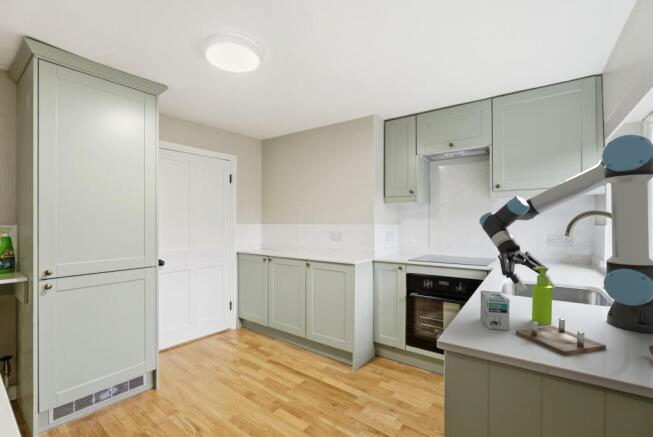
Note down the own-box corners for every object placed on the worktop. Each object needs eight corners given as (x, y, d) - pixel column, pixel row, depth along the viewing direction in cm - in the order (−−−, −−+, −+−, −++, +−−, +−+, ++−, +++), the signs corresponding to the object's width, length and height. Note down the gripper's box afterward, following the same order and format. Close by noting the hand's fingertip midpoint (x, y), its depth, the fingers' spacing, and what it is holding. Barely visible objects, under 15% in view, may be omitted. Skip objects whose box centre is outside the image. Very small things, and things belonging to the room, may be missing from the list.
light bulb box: (509, 331, 105) (510, 299, 105) (488, 329, 107) (488, 297, 106) (499, 320, 116) (499, 291, 115) (479, 318, 117) (479, 290, 117)
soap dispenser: (525, 319, 116) (527, 266, 116) (539, 318, 118) (541, 265, 118) (541, 325, 111) (542, 268, 110) (555, 323, 113) (556, 268, 112)
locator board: (552, 329, 107) (553, 314, 107) (606, 349, 92) (606, 331, 91) (515, 334, 102) (515, 318, 102) (564, 355, 87) (565, 337, 87)
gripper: (524, 249, 135) (557, 292, 121) (475, 250, 128) (505, 296, 114) (535, 237, 130) (571, 282, 116) (485, 238, 123) (518, 285, 109)
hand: (538, 289), depth 115 cm, fingers open, 13 cm apart
